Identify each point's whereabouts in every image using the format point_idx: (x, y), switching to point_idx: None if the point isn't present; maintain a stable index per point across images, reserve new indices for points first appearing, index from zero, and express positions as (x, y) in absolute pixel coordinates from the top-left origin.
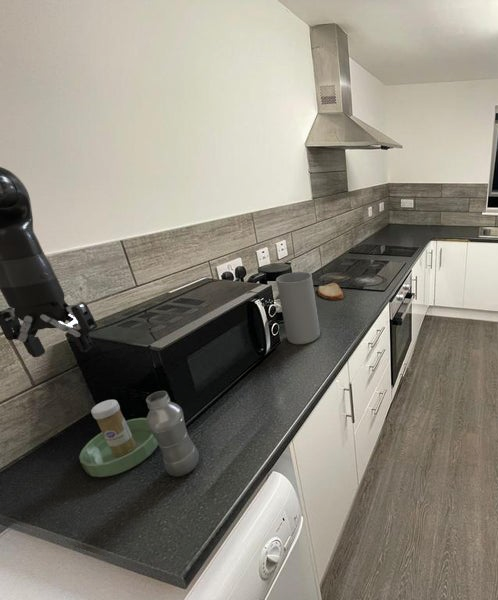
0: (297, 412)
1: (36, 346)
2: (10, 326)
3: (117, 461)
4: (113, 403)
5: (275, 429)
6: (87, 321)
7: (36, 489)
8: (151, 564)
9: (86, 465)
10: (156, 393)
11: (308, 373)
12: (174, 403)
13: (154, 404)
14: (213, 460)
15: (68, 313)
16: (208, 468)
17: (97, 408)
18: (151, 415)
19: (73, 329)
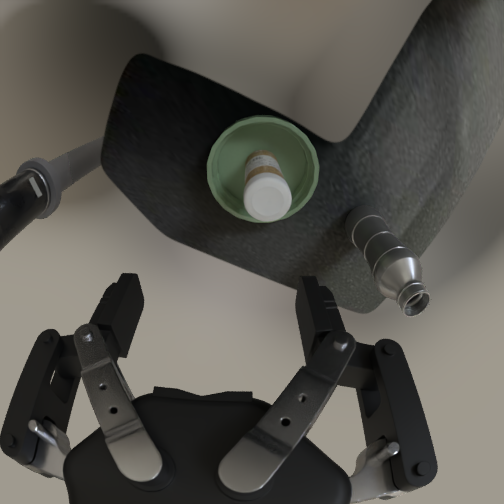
0: (477, 166)
1: (130, 318)
2: (66, 413)
3: (282, 218)
4: (286, 198)
5: (454, 188)
6: (383, 386)
7: (170, 208)
8: (347, 309)
9: (238, 217)
10: (415, 292)
11: (493, 79)
12: (421, 274)
13: (411, 313)
14: (390, 216)
15: (324, 458)
16: None
17: (258, 208)
18: (394, 299)
19: (327, 401)
